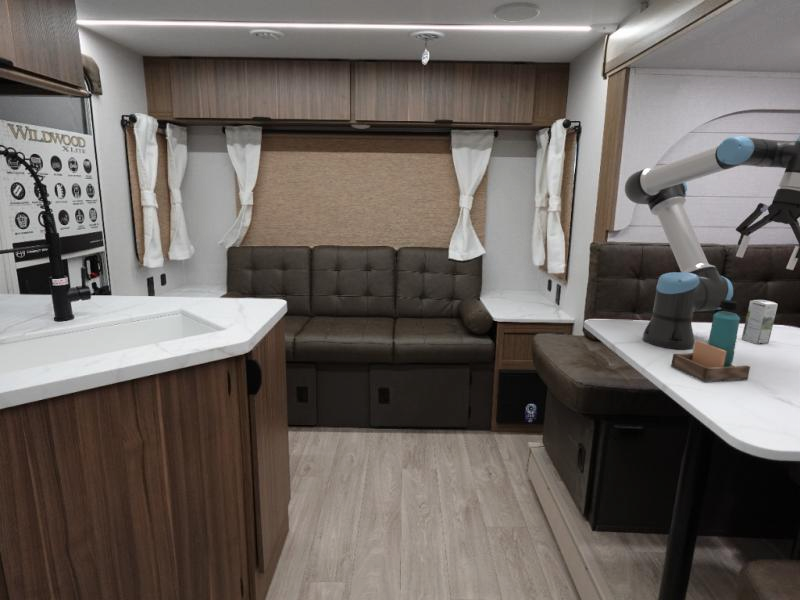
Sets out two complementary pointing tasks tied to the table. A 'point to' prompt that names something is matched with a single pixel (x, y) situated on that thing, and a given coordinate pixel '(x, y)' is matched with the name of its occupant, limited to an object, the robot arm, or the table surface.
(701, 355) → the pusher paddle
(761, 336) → the syrup box
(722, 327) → the beverage bottle
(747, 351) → the table surface
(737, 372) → the wooden tray
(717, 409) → the table surface
